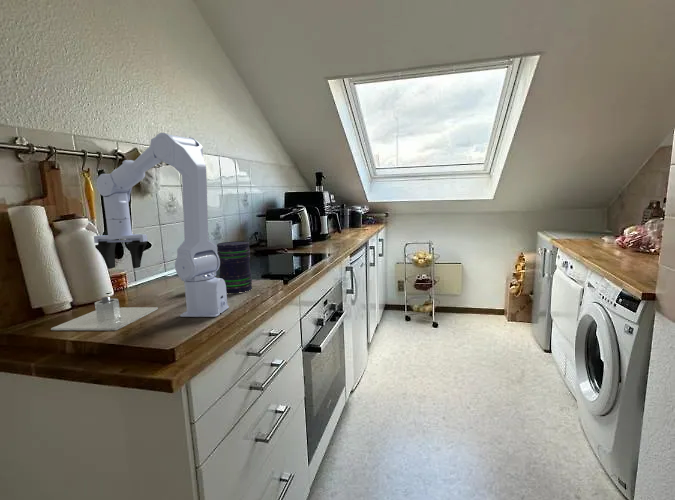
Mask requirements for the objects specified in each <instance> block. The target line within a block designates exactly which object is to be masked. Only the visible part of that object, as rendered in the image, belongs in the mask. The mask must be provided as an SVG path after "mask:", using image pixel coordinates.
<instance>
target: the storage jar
mask: <svg viewBox="0 0 675 500" xmlns="http://www.w3.org/2000/svg"><path fill="white" fill-rule="evenodd" d="M216 246H217V254H218V256H219V259H220V266H219V276H218V278H222V279H224V281H225V284H226V292H227V293H239V292H245V291H248V292H250V291H249V290H251V289H252V290H253V286H252V284H253V278H252V271H251V263H250V260H251V250H250V241H246V240H239V241H238V240H237V241H236V240H235V241H226V242H219V243H216ZM252 290H251V291H252ZM245 293H246V292H245ZM239 294H240V293H239Z"/></svg>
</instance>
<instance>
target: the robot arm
mask: <svg viewBox="0 0 675 500" xmlns="http://www.w3.org/2000/svg"><path fill="white" fill-rule="evenodd" d="M149 145H150V146H148V147H147V148H146V149H145V150H144V151H143V152H142V153H140V155H139V156H137V158H136V159H134V160H133V159H124V160H123V161H122V164H120V165H119V166H118V167H117V168H115V169H113V170H112V172H110V173H101V174H100V175H99V176H98V177H97V180H96V189H97V191H98V193H99V194H100V195H101V196H102V197H103V198H102V199H103V207H104V211H105V212H104V214H105V220H106V230H107V235H105V234H103V235H94V236H93V242H94V244H95V246H94V247H95V249H96V250H97V251H98V253H99V254H100V255H101V257H102V259H103V261H104V263H105V265H106V267H107V269H108V270H110V269H111V270H112V269H114V268H115V269H116V257H115V256H116V245H117V243H126V247H127V248H128V250H129V253H130V256H131V257H130V258H131V264H132V268H133V269H138V268H141V264H142V259H143V255H144V252H145V248H146V247H147V244H148V243H147V242H148V233H147V234H146V233H143V234H142V233H138V234H135V233H133V231H132V222H131V215H130V213H131V212H130V206H129V205H130V204H129V202H130V201H131V193H132V189H133V187H134V186H136V185H137V184H138V183H140V182H142V180H144V179H145V176H146V172H147V171H149V170H150V169H152V168H154V167H155V166H157V165H158V164H160V163H162V162H163V163H165V164H167V165H169V166H170V167H172V168H174V169H175V170H176V171H177V172H178V173H180V175H181V181H182V182H181V183H182V184H181V185H182V208H183V209H182V210H183V212H182V213H183V227H184V228H183V234H184V236H183V237H184V240H183V242H182V243H181V244H180V245H179V246H178V248H177V250H176V253H177V256H176V259H175V261H174V269H175V270H174V271H176V274H177V275H178V277H179V278H180V279H181V281H182V282H183V283H184V292H185V302H186V303H185V304H186V311H184V312H182V313H181V314H179V316H180V318H181V317H183V318H184V317H185V318H190V317H191V318H205V317H206V318H209V317H210V318H217V317H218V316H219V315H221V314H222V313H224V312H225V311H226V310H227V309H229V307H230V306H229V305H228V296H227V295H228V294H227V292H226V284H225V281H224V279H222V278H220V277H216V276H217V272H218V270H220V267H219V266H220V259H219V256H218V254H217V252H218V251H217V249H218V247H217V244H215V243H213V242H212V241H210V239H209V221H208V220H209V219H208V218H209V217H208V216H209V215H208V213H209V211H208V185H207V183H208V182H207V181H208V180H207V178H208V177H207V167H206V166H207V165H206V162H205V160H204V147H203V145H202V144H201V143H200V142H199V141H198V140H197V139H195V138H194V137H190V136H189V137H186V136H182V135H181V136H180V135H175V134H169V133H166V132H160V133H157V134H156V135H155V136H154V137H152V138H151V139H150V144H149ZM220 313H221V314H220Z"/></svg>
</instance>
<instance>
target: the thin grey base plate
mask: <svg viewBox="0 0 675 500" xmlns="http://www.w3.org/2000/svg"><path fill="white" fill-rule="evenodd" d="M111 299H112V298H111V296H102V297H101V300H102V303H108V302H111ZM119 308H120V316H119V317H116V318H114V319H109V320H97V316H96V309H95V310H93V311H91V312H88V313H86V314H83V315H81V316H78V317H75V318H73V319H71V320H68V321H65V322H63V323H60V324H58V325H55V326H53V327H51V328H50V330H51V331H91V332H92V331H93V332H95V331H102V332H103V331H106V332H107V331H110V332H111V331H114V332H116V331H118V330H120V329H122V328H124V327H126V326H128V325H130V324H131V323H134V322H136V321H138V320H140V319H141V318H143V317H145V316H147V315H149V314H151V313H153V312H156V311H157V310H158V306H157V307H154V306H151V307H148V306H147V307H146V306H145V307H142V306H141V307H140V306H139V307H138V306H137V307H119Z"/></svg>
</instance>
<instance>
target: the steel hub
mask: <svg viewBox="0 0 675 500" xmlns="http://www.w3.org/2000/svg"><path fill="white" fill-rule="evenodd" d="M110 299H111V302H108V303H102V299H101V300H98V301H96V302H94V307H95V310H96V316H97V320H109V319H114V318H116V317H119V316H120V308H121V307H120V302H119V299H118V298H110Z"/></svg>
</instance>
